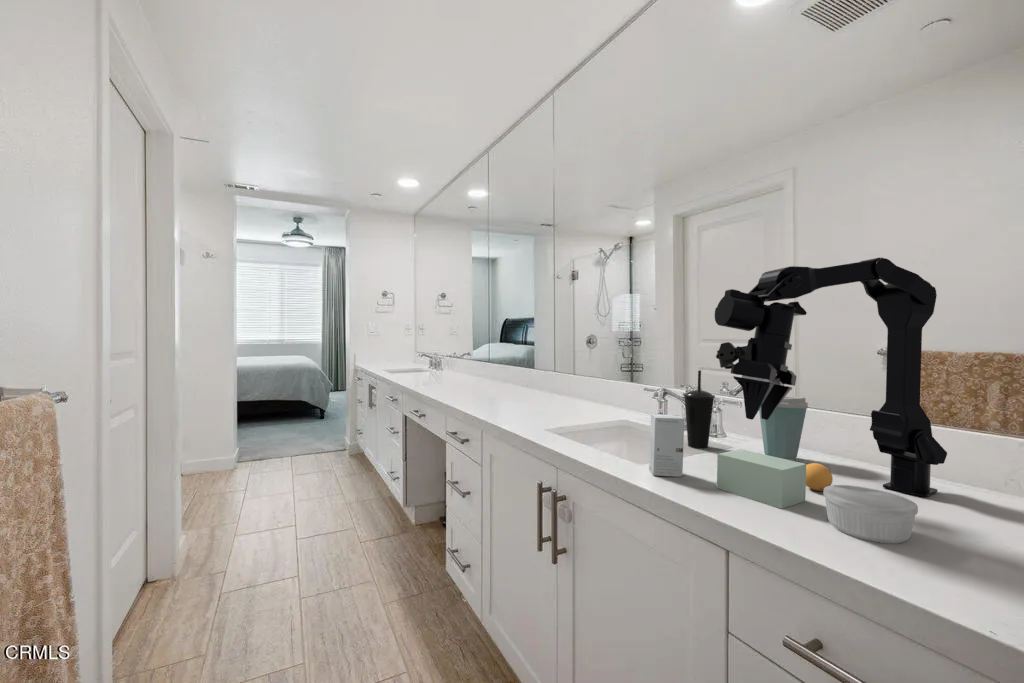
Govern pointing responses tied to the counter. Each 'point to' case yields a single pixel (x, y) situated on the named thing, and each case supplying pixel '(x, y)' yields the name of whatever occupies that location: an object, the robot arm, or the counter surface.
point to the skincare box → (666, 445)
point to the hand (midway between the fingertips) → (757, 419)
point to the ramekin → (870, 513)
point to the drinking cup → (698, 416)
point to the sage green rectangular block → (762, 477)
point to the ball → (818, 476)
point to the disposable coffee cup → (784, 428)
